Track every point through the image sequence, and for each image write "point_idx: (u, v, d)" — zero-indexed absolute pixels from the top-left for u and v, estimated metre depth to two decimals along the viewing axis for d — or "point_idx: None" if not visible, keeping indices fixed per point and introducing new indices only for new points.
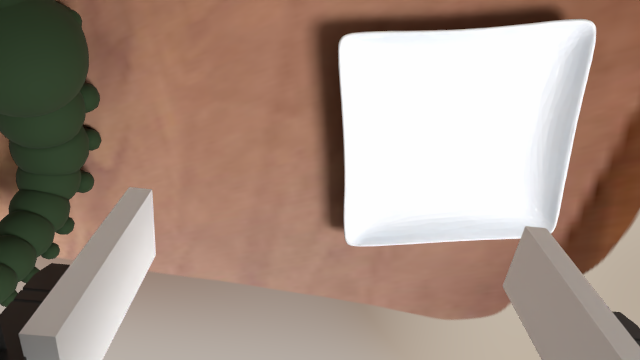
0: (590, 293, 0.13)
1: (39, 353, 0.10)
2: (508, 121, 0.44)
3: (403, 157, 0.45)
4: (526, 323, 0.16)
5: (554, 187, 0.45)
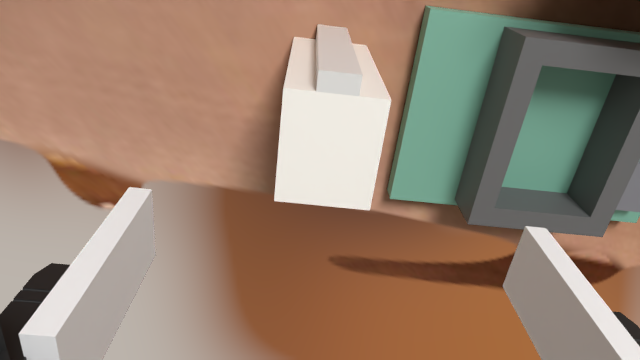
0: (590, 293, 0.13)
1: (39, 353, 0.10)
2: None
3: None
4: (526, 323, 0.16)
5: None
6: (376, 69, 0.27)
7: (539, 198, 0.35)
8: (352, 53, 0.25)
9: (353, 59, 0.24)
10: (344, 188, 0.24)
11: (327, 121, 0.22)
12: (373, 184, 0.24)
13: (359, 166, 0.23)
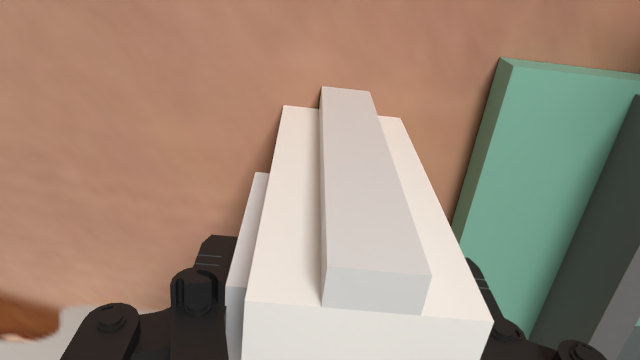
0: None
1: (238, 303, 0.12)
2: None
3: None
4: None
5: None
6: (432, 190, 0.14)
7: None
8: (392, 175, 0.13)
9: (398, 200, 0.11)
10: None
11: (346, 359, 0.10)
12: None
13: None
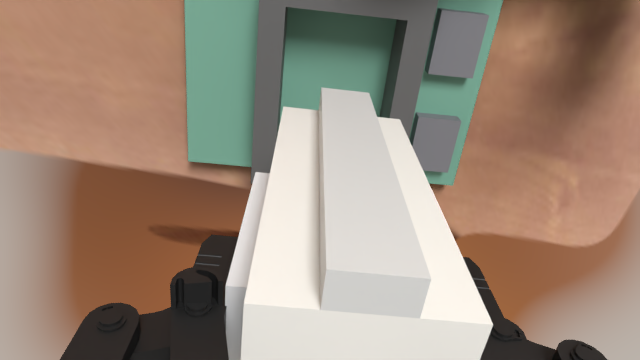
0: None
1: (238, 303, 0.12)
2: None
3: None
4: None
5: None
6: (431, 192, 0.14)
7: None
8: (391, 177, 0.13)
9: (397, 202, 0.11)
10: None
11: None
12: None
13: None
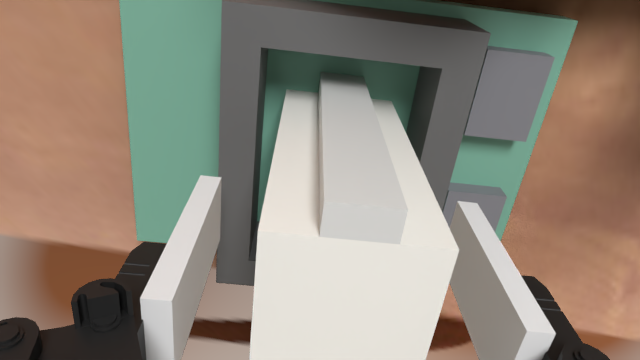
0: (503, 257, 0.14)
1: (155, 316, 0.11)
2: None
3: None
4: (455, 291, 0.17)
5: None
6: (415, 157, 0.17)
7: None
8: (380, 140, 0.15)
9: (384, 158, 0.14)
10: None
11: (339, 282, 0.12)
12: None
13: (396, 349, 0.13)
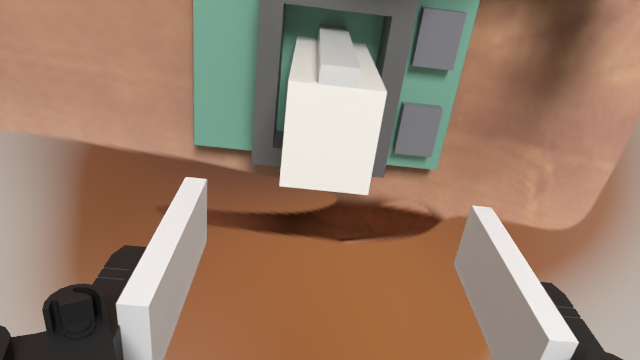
0: (521, 264, 0.14)
1: (132, 322, 0.11)
2: None
3: None
4: (470, 296, 0.17)
5: None
6: (374, 65, 0.28)
7: None
8: (351, 50, 0.27)
9: (352, 55, 0.26)
10: (344, 174, 0.26)
11: (328, 111, 0.24)
12: (371, 170, 0.26)
13: (358, 153, 0.25)
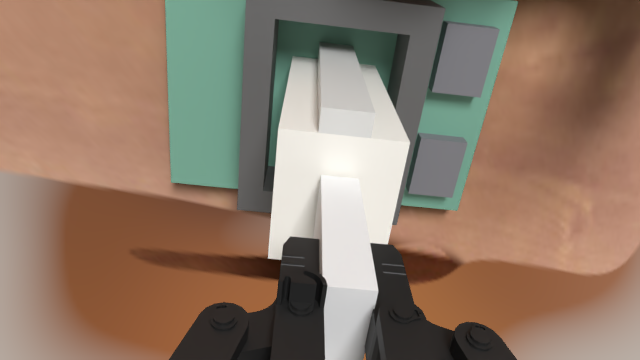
0: (360, 226, 0.15)
1: (333, 302, 0.13)
2: None
3: None
4: None
5: None
6: (388, 98, 0.23)
7: None
8: (361, 81, 0.21)
9: (363, 90, 0.20)
10: None
11: (331, 166, 0.18)
12: (387, 239, 0.20)
13: (370, 218, 0.19)
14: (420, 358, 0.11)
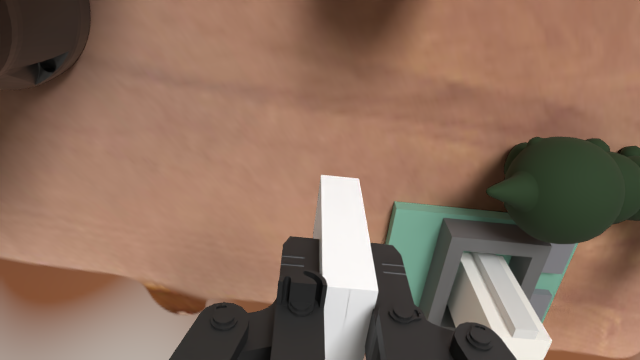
0: (360, 226, 0.15)
1: (333, 302, 0.13)
2: None
3: None
4: None
5: None
6: (525, 297, 0.45)
7: None
8: (517, 296, 0.43)
9: (523, 307, 0.42)
10: None
11: (515, 349, 0.40)
12: None
13: None
14: (420, 358, 0.11)
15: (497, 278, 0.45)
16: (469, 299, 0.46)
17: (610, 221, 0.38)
